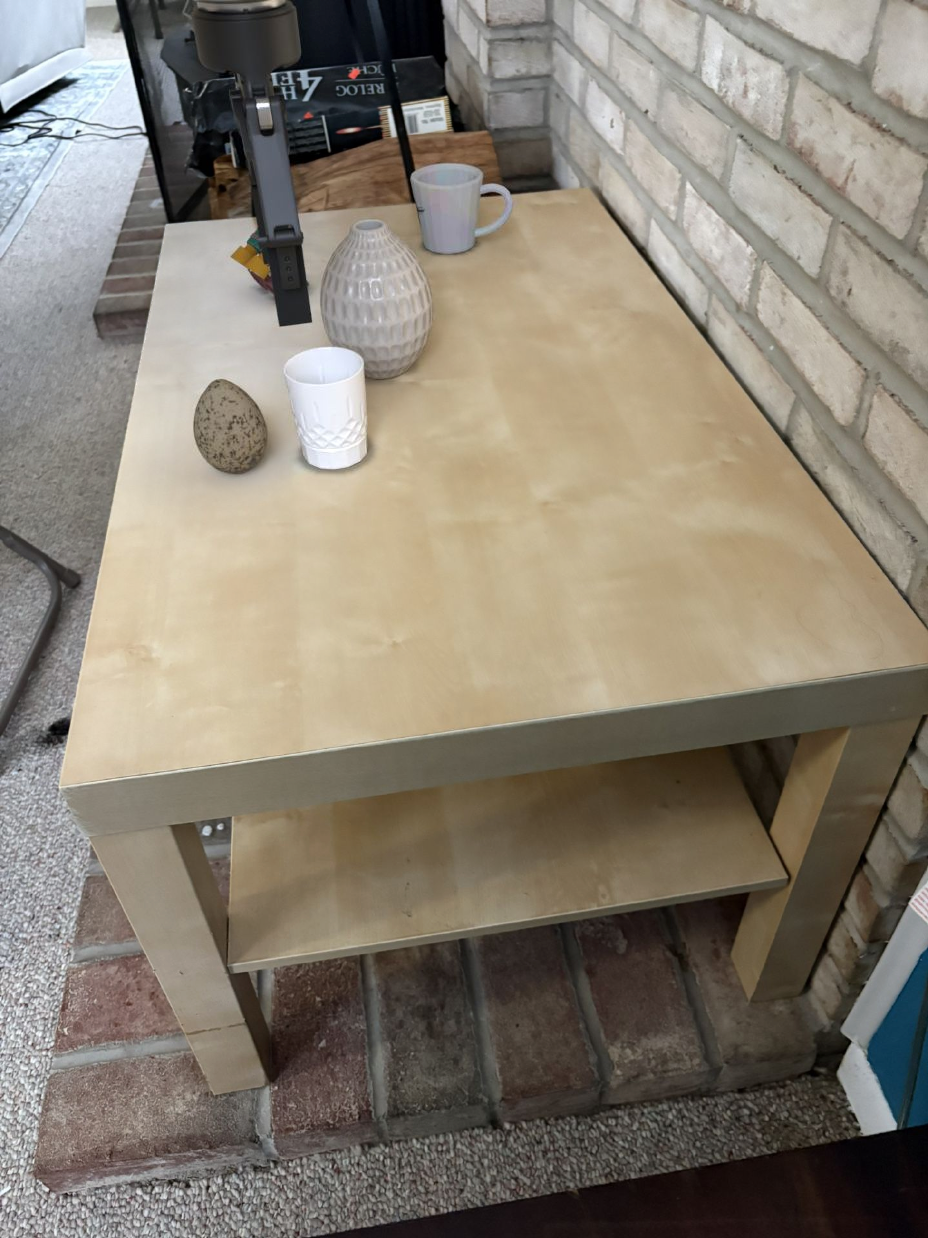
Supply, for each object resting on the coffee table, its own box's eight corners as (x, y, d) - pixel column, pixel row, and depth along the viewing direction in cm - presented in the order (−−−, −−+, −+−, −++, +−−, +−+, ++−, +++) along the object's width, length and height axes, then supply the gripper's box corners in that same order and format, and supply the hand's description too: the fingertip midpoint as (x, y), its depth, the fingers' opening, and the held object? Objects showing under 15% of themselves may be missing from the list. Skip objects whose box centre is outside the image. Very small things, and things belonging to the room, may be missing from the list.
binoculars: (265, 295, 131) (217, 246, 123) (306, 247, 131) (262, 194, 123) (297, 317, 126) (249, 267, 118) (340, 266, 126) (296, 212, 118)
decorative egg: (189, 472, 95) (165, 384, 88) (243, 442, 99) (223, 356, 92) (235, 496, 91) (213, 407, 85) (288, 464, 95) (271, 376, 89)
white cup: (326, 482, 93) (312, 393, 86) (283, 451, 97) (267, 364, 90) (388, 453, 96) (379, 365, 90) (344, 424, 101) (333, 338, 94)
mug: (423, 230, 142) (419, 160, 136) (518, 234, 140) (519, 164, 133) (407, 256, 135) (402, 184, 128) (507, 261, 132) (507, 188, 126)
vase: (331, 398, 105) (310, 252, 94) (327, 347, 114) (307, 208, 103) (443, 387, 106) (435, 241, 95) (429, 337, 115) (421, 199, 104)
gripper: (317, 30, 58) (351, 347, 72) (276, -28, 76) (310, 235, 90) (195, 38, 56) (255, 359, 71) (183, -23, 74) (233, 243, 89)
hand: (286, 290), depth 80 cm, fingers open, 13 cm apart
